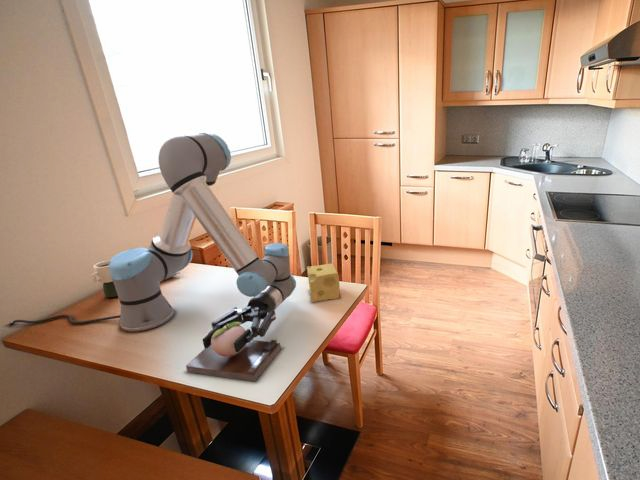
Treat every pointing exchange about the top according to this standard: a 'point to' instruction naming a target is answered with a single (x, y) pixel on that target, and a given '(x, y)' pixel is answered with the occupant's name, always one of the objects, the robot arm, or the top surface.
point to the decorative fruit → (227, 339)
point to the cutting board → (236, 361)
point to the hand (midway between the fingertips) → (220, 345)
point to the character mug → (104, 278)
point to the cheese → (323, 282)
